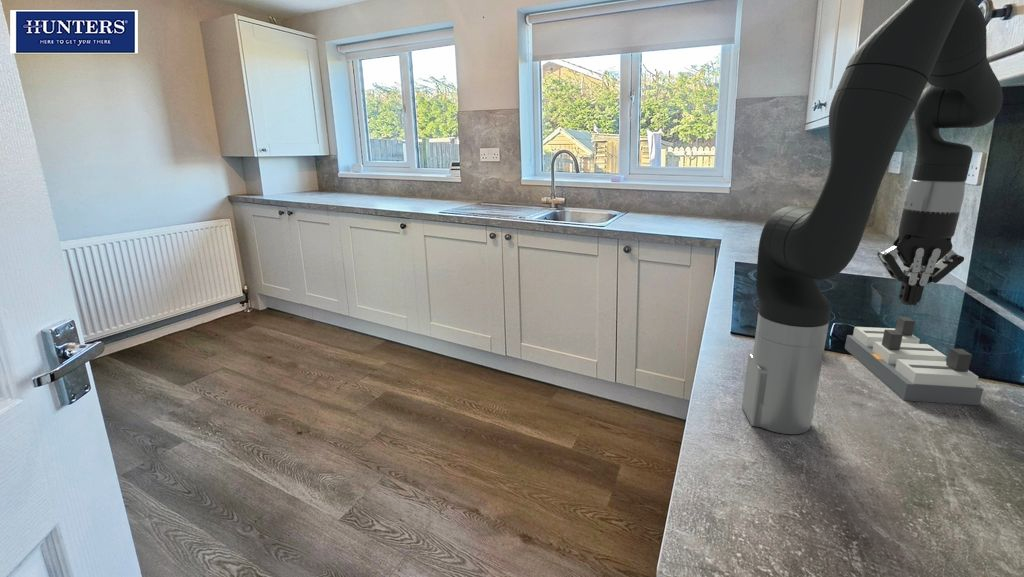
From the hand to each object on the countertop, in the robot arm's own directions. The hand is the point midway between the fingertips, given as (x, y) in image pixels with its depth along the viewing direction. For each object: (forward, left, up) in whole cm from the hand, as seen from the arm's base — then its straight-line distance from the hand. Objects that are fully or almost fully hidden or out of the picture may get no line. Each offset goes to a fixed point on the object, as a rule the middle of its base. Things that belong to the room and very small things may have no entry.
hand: (908, 303), depth 89 cm
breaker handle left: (+5, +8, -9) cm, 12 cm away
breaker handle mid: (-2, 0, -9) cm, 9 cm away
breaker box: (+2, 0, -14) cm, 14 cm away
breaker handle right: (+5, -8, -9) cm, 13 cm away
